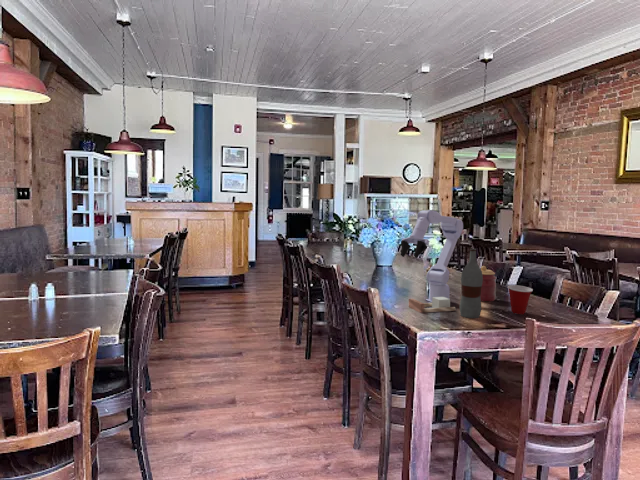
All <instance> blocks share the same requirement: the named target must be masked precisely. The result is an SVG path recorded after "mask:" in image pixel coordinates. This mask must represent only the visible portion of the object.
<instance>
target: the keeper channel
mask: <svg viewBox="0 0 640 480" xmlns="http://www.w3.org/2000/svg"><path fill="white" fill-rule="evenodd" d="M427 307H428V308H427ZM408 308H409V309H412V310H413V311H416V312H418V313H421V314H423V313H435V312H436V313H437V312H440V313H441V312H452V311H453V312H455V311H456V307H455V306H450V307H443V308H432V302H421V301H420V300H417V299H415V298H408Z"/></svg>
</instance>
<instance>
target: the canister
mask: <svg viewBox="0 0 640 480" xmlns="http://www.w3.org/2000/svg"><path fill="white" fill-rule="evenodd" d="M480 269H481V271H482V275H483V282H482V288H481V296H480V297H481V302H485V301H489V302H495V300H496V291H497V290H496V289H497V283H496V280H497V276H496V273H495V272H494V271H493V270H491V269H487V266H485V265H482V266H481V268H480Z"/></svg>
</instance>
